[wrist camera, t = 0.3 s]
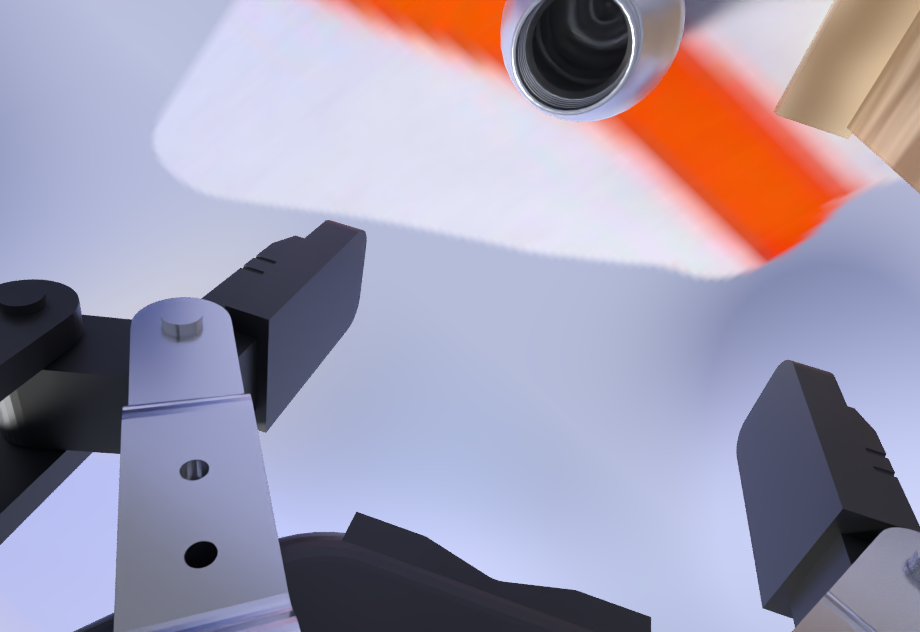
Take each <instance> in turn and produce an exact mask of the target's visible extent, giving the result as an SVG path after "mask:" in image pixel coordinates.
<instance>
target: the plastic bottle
mask: <svg viewBox="0 0 920 632" xmlns="http://www.w3.org/2000/svg"><path fill="white" fill-rule="evenodd" d="M685 13H686V10H685V0H506V3H505V6H504V9H503V15H502V22H501V29H500V31H501V50H502V54H503V59H504V63H505V66H506V69H507V71H508V73H509V76H510V78H511V81H512V82H513V83H514V85H515V86H516V88H517V89H518V91H519V92H520V94H521V95H522V96H523V97H524V98H525V99H526V100H527V101H528V102H529V103H530V104H531V105H533V106H534V107H536V108H537V109H539V110H540V111H542V112H544V113H545V114H547V115H550V116H553V117H555V118H558V119H561V120H566V121H573V122H591V121H598V120H602V119H606V118H610V117H613V116H615V115H617V114H620V113H622V112H624V111H626V110H628V109H630V108H631V107H633V106H634V105H636V104H637V103H638V102H640V101H641V100H643V99H644V98H645V97H646V96H647V95H648V94H649V93H650V92H651V91H652V90H653V89H654V88H655V87H656V86H657V85H658V84H659V83H660V81H661V80H662V78H663V77H664V76H665V74H666V73H667V72H668V70H669V68H670V66H671V64H672V62H673V60H674V58H675V56H676V54H677V52H678V49H679V46H680V43H681V39H682V36H683V32H684V23H685Z"/></svg>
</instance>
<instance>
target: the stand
mask: <svg viewBox="0 0 920 632" xmlns="http://www.w3.org/2000/svg"><path fill="white" fill-rule="evenodd" d="M774 112H775V113H776V114H777V115H778V116H781V117H784V118H787V119H790V120H793V121H796V122H799V123H802V124H805V125H808V126H811V127H814V128H817V129H820V130H823V131H826V132H829V133H832V134H835V135H838V136H841V137H844V138H847V139H849V137H850V136H851V134H852V133H853V134H854V135H855V136H856V137H857V138H858V139H860V140H861V141H862V142H863V143H864V144H865V145H866V146H867V147H869V148H870V149H871V150H872V151H873V152H874V153H875V154H876V155H877V156H879V157H880V158H881V159H882V160H883V161H884V162H885V163H886V164H887V165H889V166H890V167H891V168H892V169H893V170H894V171H895V172H896V173H898V174H899V175H900V176H901V177H902V178H903V179H904V180H905V181H906V182H908V183H909V184H910V185H911V186H912V187H913V188H914V189H915V190H916V191H918V192H919V193H920V0H834V2H833V4H832V6H831V8H830V9H829V11H828V13H827V15H826V17H825V19H824V20H823V22H822V24H821V26H820V28H819V30H818V31H817V33H816V35H815V37H814V39H813V41H812V42H811V44H810V46H809V48H808V50H807V52H806V53H805V55H804V57H803V59H802V61H801V63H800V64H799V66H798V68H797V70H796V72H795V74H794V75H793V77H792V79H791V81H790V83H789V85H788V86H787V88H786V90H785V92H784V94H783V96H782V98H781V99H780V101H779V103H778V105H777V107H776V109H775V110H774Z"/></svg>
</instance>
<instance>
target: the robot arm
mask: <svg viewBox="0 0 920 632" xmlns="http://www.w3.org/2000/svg"><path fill="white" fill-rule="evenodd" d="M365 250H366V233H365V231H363V230H360V229H357V228H354V227H350V226H347V225H344V224H340V223H337V222H334V221H331V220H327V221H325V222H324V223H322V224H321V225H320V226H319V227H318V228H316V229H315V230H314V231H313V232H312V233H311V234H309V235H308V236H307V237H306V238H301V237H298V236H293V237H290V238H287V239H284V240H281V241H278V242H275V243H272V244H271V245H269V246H268V247H267V248H266V249H264V250H263V251H262V252H260V253H259V254H258V255H257V257H256V258H253V259H252V260H250V261H249V262H248V263H246V264H245V265H244V268H243V269H242V268H240V269H239V270H237V272H235V273H234V274H232V275H231V276H230V277H229V278H227V279H226V280H225V281H223V282H222V283H221V284H220V285H218V286H217V287H216V288H214V290H212V291H211V292H209V293H208V294H207V295H206V296H204V297H203V298H202V299H199V298H190V297H181V298H171V299H165V300H161V301H158V302H155V303H152V304H150V305H148V306H146V307H144V308H143V309H141V310H140V311H139V312H138V313H137V314H136V315H135V316H134V318H133V319H132V320H130V319H118V318H109V317H99V316H90V315H82V314H81V308H80V302H79V298H78V295H77V293H76V292H75V291H74V290H73V289H71V288H70V287H68V286H66V285H64V284H61V283H58V282H54V281H48V280H19V281H12V282H7V283H3V284H0V545H1V544H2V543H3V542H4V541H5V540H6V538H7V537H9V535H10V534H12V533H13V532H14V530H16V528H17V527H18V526H19V525H20V524H21V523H22V522H23V521H24V520H25V519H26V518H27V517H28V516H29V515H30V514H31V513H32V512H33V511H34V510H35V509H36V508H37V507H38V506H39V505H40V504H41V503H42V502H43V501H44V500H45V499H46V498H47V497H48V496H49V495H50V494H51V493H52V492H53V491H54V490H55V489H56V488H57V487H58V486H59V485H60V484H61V483H62V482H63V481H64V480H65V479H66V478H67V477H68V476H69V475H70V474H71V473H72V472H73V471H74V470H75V469H76V468H77V467H78V466H79V465H80V464H81V463H82V462H83V461H84V460H85V459H86V458H87V457H88V456H89V455H90V454H91V453H92V452H101V453H116V454H120V478H119V506H118V531H117V558H116V582H115V584H116V585H115V609H114V613H112V614H110V615H108V616H106V617H104V618H102V619H99V620H97V621H95V622H93V623H91V624H89V625H87V626H84V627H82V628H80V629H78V630H76V631H74V632H651V617H649V616H646V615H643V614H641V613H638V612H635V611H632V610H629V609H626V608H624V607H621V606H618V605H615V604H613V603H610V602H607V601H604V600H601V599H599V598H596V597H593V596H590V595H587V594H585V593H582V592H579V591H576V590H569V589H560V588H552V587H543V586H535V585H527V584H518V583H509V582H502V581H498V580H495V579H492V578H490V577H489V576H487V575H485V574H484V573H482V572H481V571H479V570H477V569H476V568H474V567H473V566H471V565H470V564H468V563H466V562H465V561H463V560H462V559H460V558H459V557H457V556H455V555H454V554H452V553H451V552H449V551H448V550H446V549H444V548H443V547H441V546H440V545H438V544H437V543H435V542H433V541H432V540H430V539H429V538H427V537H425V536H423V535H420V534H417V533H414V532H411V531H409V530H406V529H403V528H400V527H397V526H395V525H392V524H389V523H386V522H384V521H381V520H378V519H375V518H372V517H370V516H366V515H364V514H361V513H358V512H356V514H355V516H354V518H353V520H352V522H351V524H350V526H349V527H348V529H347V531H346V533H338V532H313V533H304V534H296V535H292V536H287V537H282V538H278V535H277V530H276V525H275V519H274V514H273V509H272V503H271V498H270V492H269V487H268V482H267V477H266V472H265V466H264V461H263V455H262V450H261V445H260V439H259V435H258V430H259V431H263V432H267V431H268V429H269V428H270V427H271V426H272V424H273V423H274V422H275V420H276V419H277V418H278V417H279V415H280V414H281V413H282V412H283V410H284V409H285V408H286V407H287V405H288V404H289V403H290V402H291V400H292V399H293V398H294V397H295V395H296V394H297V393H298V391H299V390H300V389H301V388H302V386H303V385H304V384H305V383H306V381H307V380H308V379H309V377H310V376H311V375H312V374H313V373H314V371H315V370H316V369H317V368H318V366H319V365H320V363H321V362H322V361H323V360H324V359H325V357H326V356H327V355H328V354H329V352H330V351H331V350H332V348H333V347H334V346H335V345H336V343H337V342H338V341H339V340H340V339H341V337H342V336H343V335H344V333H345V332H346V331H347V329H348V328H349V327H350V325H351V323H352V321H353V319H354V317H355V314H356V311H357V308H358V304H359V299H360V291H361V283H362V275H363V267H364V259H365ZM885 455H886V453H885V450H884V448H883V446H882V444H881V442H880V440H879V438H878V435H877V433H876V431H875V430H874V429H873V428H872V427H871V426H870V425H869V424H868V423H867V422H866V421H865V420H864V418H863V417H862V416H861V415H860V414H859V413H858V412H857V411H856V410H855V409H854V408H851V407H848V406H847V404H846V402H845V400H844V398H843V395H842V393H841V390H840V388H839V386H838V383H837V381H836V379H835V377H834V375H833V374H832V373H830V372H827V371H823V370H820V369H817V368H814V367H810V366H807V365H804V364H800V363H797V362H794V361H791V360H786V361H784V362H782V363H781V364H780V365H779V366H778V367H777V369H776V370H775V372H774V373H773V375H772V377H771V378H770V380H769V382H768V383H767V385H766V387H765V388H764V390H763V392H762V393H761V395H760V397H759V398H758V400H757V402H756V403H755V405H754V407H753V408H752V410H751V411H750V413H749V415H748V416H747V419H746V420H745V422H744V423H743V425H742V428H741V430H740V433H739V437H738V441H737V460H738V466H739V472H740V477H741V484H742V489H743V495H744V501H745V507H746V513H747V519H748V525H749V530H750V536H751V542H752V548H753V554H754V559H755V566H756V572H757V578H758V584H759V589H760V595H761V601H762V607H763V608H764V609H767V610H770V611H773V612H775V613H778V614H781V615H784V616H787V617H790V618H793V619H794V624H795V629H794V630H793V631H792V632H920V526H919V524H918V522H917V519H916V517H915V515H914V513H913V511H912V508H911V506H910V504H909V502H908V500H907V498H906V496H905V494H904V491H903V489H902V487H901V485H900V483H899V481H898V478H897V477H894V473H895V472H894V470H893V468H892V466H891V463H890V461H889V459H888V458H885Z"/></svg>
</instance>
